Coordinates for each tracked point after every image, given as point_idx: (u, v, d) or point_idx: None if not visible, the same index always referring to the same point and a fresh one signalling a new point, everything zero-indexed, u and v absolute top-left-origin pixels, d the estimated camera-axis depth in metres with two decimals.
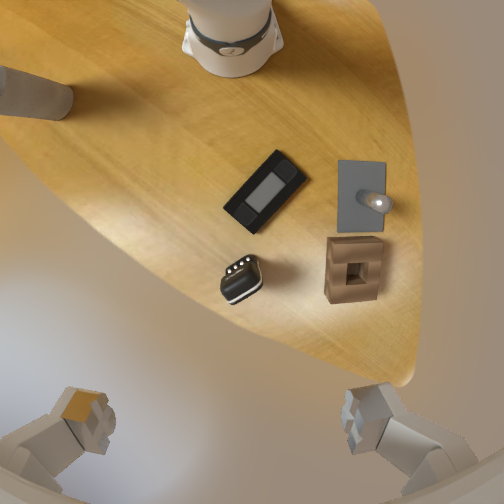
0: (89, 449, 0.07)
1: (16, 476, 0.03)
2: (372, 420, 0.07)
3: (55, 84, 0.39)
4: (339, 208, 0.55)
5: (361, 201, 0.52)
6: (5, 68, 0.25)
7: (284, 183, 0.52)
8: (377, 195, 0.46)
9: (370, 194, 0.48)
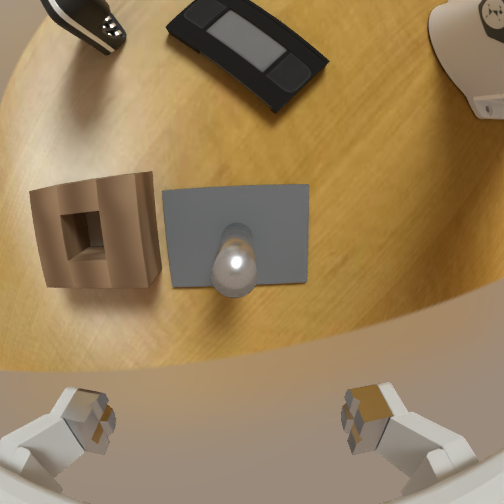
0: (89, 449, 0.07)
1: (16, 476, 0.03)
2: (372, 420, 0.07)
3: None
4: (210, 189, 0.28)
5: (229, 231, 0.26)
6: None
7: (264, 70, 0.23)
8: (253, 258, 0.21)
9: (249, 244, 0.23)
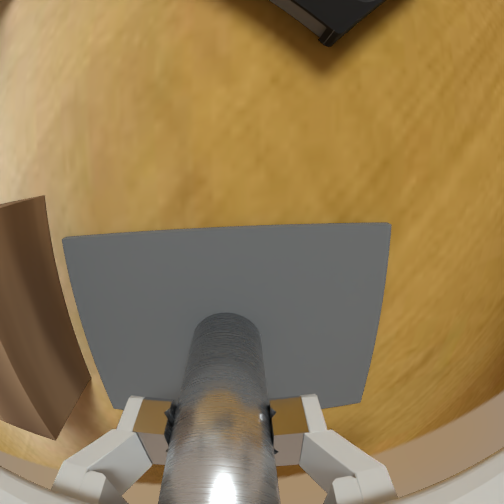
0: (159, 461, 0.07)
1: (16, 476, 0.03)
2: (284, 434, 0.07)
3: None
4: (159, 237, 0.11)
5: (206, 356, 0.09)
6: None
7: None
8: None
9: (260, 429, 0.07)
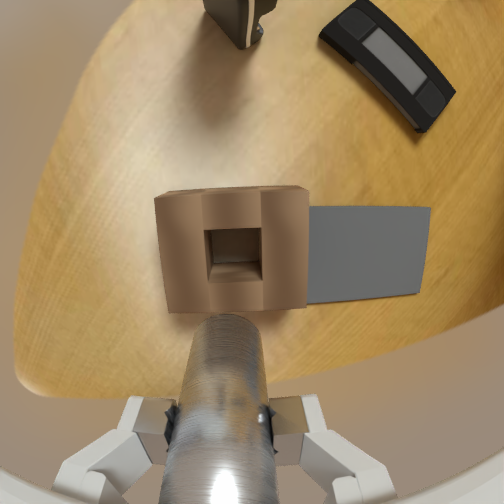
0: (159, 461, 0.07)
1: (16, 476, 0.03)
2: (284, 434, 0.07)
3: None
4: (355, 208, 0.28)
5: (206, 358, 0.09)
6: None
7: (413, 93, 0.23)
8: None
9: (260, 431, 0.07)
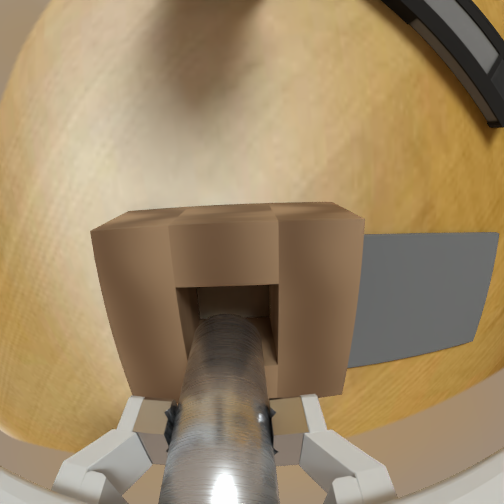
0: (159, 461, 0.07)
1: (16, 476, 0.03)
2: (283, 434, 0.07)
3: None
4: (413, 238, 0.17)
5: (206, 358, 0.09)
6: None
7: (488, 72, 0.13)
8: None
9: (260, 431, 0.07)
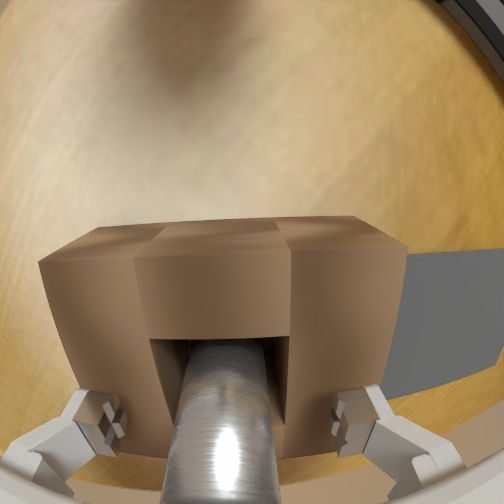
0: (101, 452, 0.07)
1: (16, 476, 0.03)
2: (357, 423, 0.07)
3: None
4: (445, 258, 0.14)
5: None
6: None
7: None
8: (270, 451, 0.06)
9: (257, 385, 0.09)
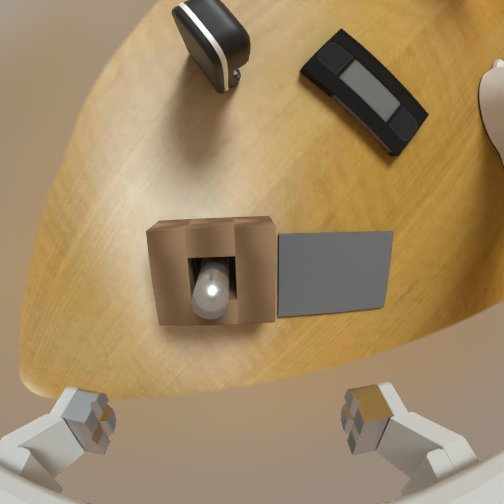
0: (89, 449, 0.07)
1: (16, 476, 0.03)
2: (372, 420, 0.07)
3: None
4: (320, 235, 0.32)
5: (209, 259, 0.30)
6: None
7: (387, 120, 0.28)
8: (226, 286, 0.25)
9: (224, 272, 0.27)
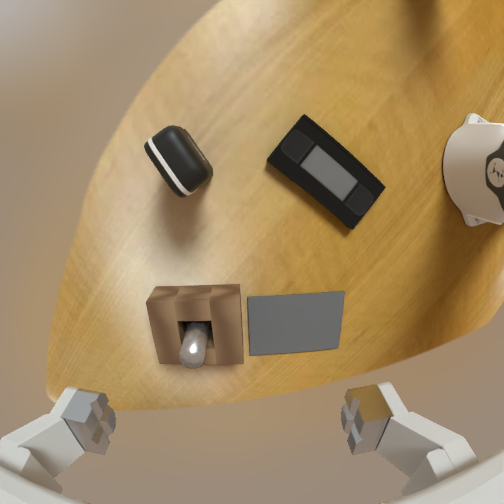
0: (89, 449, 0.07)
1: (16, 476, 0.03)
2: (372, 420, 0.07)
3: None
4: (281, 297, 0.41)
5: None
6: None
7: (343, 199, 0.37)
8: (203, 345, 0.34)
9: (203, 332, 0.37)
